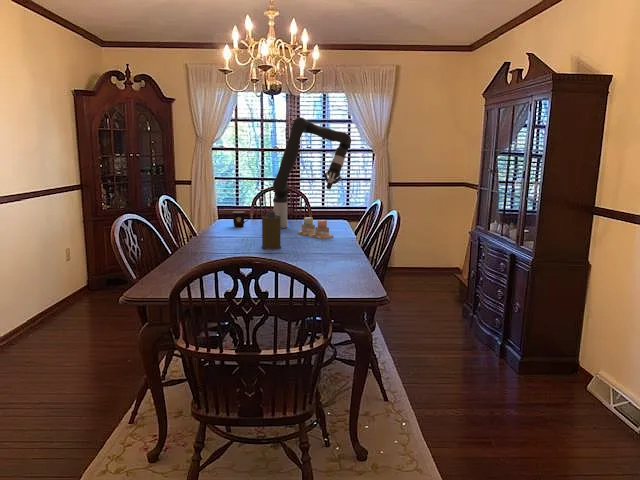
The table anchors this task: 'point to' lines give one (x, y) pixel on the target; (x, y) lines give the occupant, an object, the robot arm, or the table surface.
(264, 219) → the canister
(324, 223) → the brown rounded piece
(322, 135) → the robot arm
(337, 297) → the table surface
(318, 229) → the button board
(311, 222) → the pale green rounded knob
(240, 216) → the coffee mug
